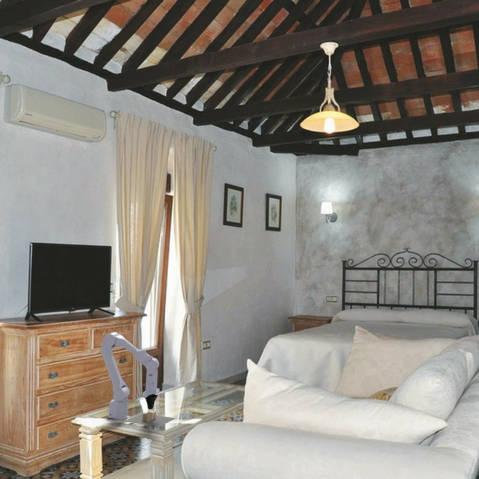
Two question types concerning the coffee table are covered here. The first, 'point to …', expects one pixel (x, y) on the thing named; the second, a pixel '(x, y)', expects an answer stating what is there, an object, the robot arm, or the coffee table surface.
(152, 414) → the maple block
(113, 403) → the robot arm
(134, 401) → the coffee table surface
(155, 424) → the mat
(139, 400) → the coffee table surface
